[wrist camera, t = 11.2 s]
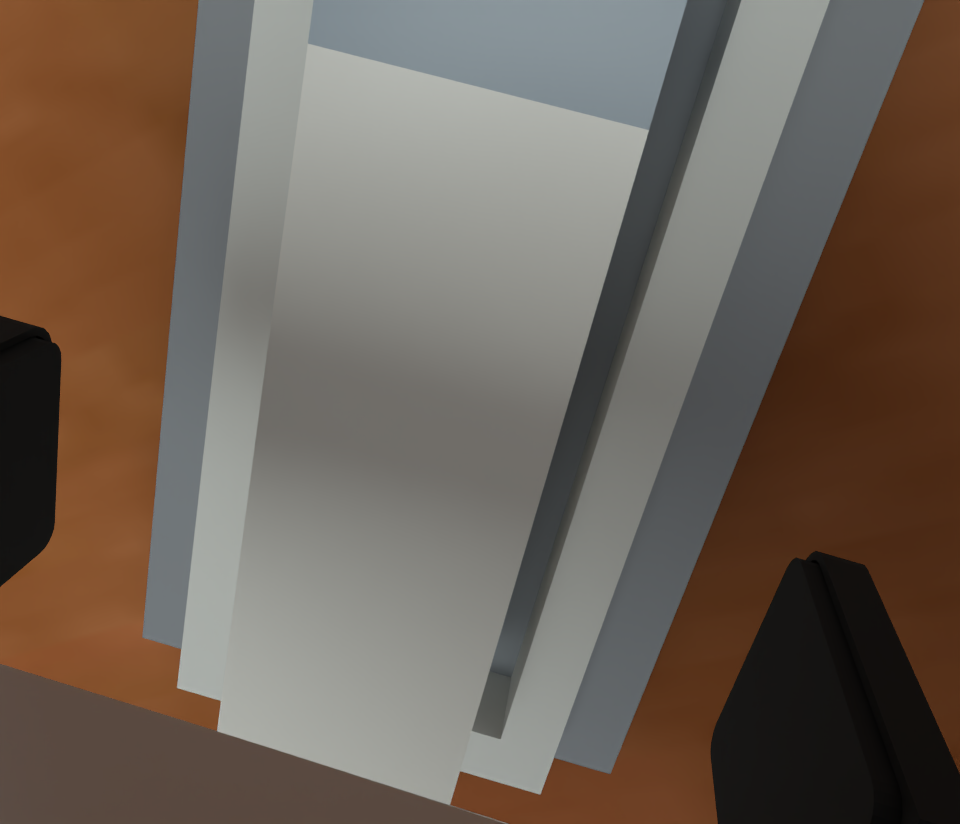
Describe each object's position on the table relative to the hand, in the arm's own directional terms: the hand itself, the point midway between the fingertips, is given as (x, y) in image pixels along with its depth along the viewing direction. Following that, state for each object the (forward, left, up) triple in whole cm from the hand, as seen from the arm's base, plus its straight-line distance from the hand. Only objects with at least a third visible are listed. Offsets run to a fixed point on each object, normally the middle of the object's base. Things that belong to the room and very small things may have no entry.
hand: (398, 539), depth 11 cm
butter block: (0, 0, -7) cm, 7 cm away
